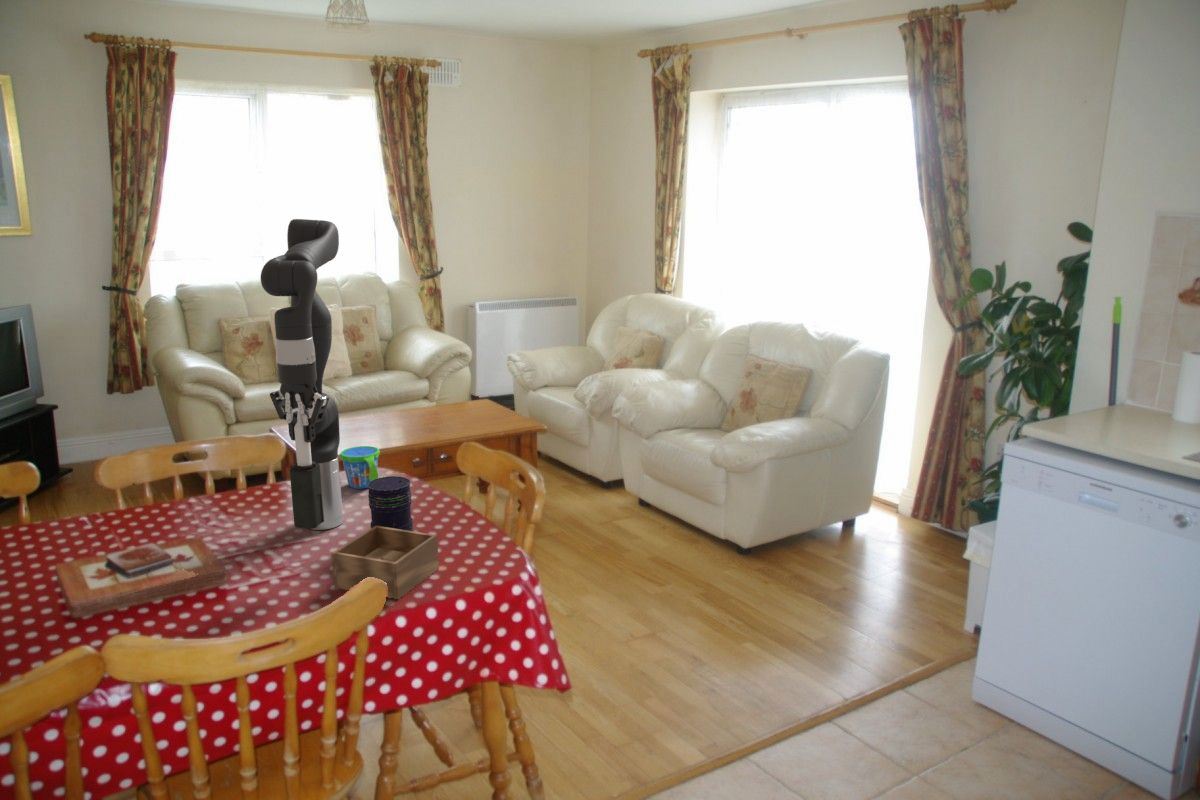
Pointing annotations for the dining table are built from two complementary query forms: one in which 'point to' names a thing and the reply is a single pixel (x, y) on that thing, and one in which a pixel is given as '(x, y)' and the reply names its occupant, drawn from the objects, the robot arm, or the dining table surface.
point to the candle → (305, 484)
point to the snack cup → (360, 465)
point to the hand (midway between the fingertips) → (302, 440)
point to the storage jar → (390, 503)
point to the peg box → (386, 559)
